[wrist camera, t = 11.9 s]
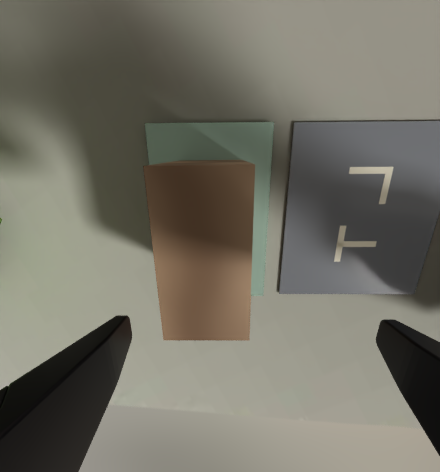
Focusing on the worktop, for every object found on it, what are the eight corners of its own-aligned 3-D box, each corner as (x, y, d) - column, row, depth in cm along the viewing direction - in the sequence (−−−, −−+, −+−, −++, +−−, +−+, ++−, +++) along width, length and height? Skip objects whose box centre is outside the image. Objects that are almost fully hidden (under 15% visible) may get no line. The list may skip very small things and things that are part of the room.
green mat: (272, 122, 17) (273, 121, 16) (262, 292, 21) (263, 295, 21) (147, 124, 17) (144, 123, 16) (163, 292, 22) (162, 295, 21)
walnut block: (241, 159, 17) (255, 164, 10) (239, 270, 20) (249, 340, 13) (178, 160, 17) (143, 166, 10) (186, 270, 20) (163, 340, 13)
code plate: (465, 121, 16) (468, 120, 16) (412, 292, 21) (414, 294, 21) (293, 122, 17) (294, 122, 17) (278, 292, 21) (279, 293, 21)
